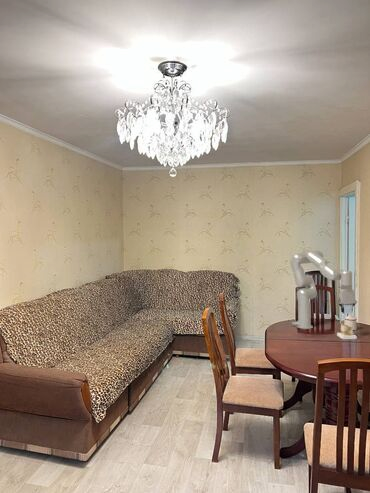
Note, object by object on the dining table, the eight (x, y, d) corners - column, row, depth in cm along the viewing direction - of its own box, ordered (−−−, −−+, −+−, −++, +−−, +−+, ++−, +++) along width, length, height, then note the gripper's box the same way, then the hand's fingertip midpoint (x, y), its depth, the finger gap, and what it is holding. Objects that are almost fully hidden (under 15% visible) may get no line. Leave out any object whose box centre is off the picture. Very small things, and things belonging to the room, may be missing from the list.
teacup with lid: (357, 329, 288) (357, 314, 288) (355, 331, 281) (355, 316, 280) (341, 327, 295) (341, 312, 295) (338, 329, 288) (338, 314, 287)
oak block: (344, 335, 262) (344, 327, 262) (340, 333, 268) (340, 325, 268) (352, 335, 262) (352, 327, 262) (349, 333, 268) (349, 325, 268)
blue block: (344, 313, 262) (344, 305, 262) (341, 312, 267) (341, 304, 267) (351, 313, 262) (351, 305, 262) (348, 312, 267) (348, 304, 267)
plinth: (342, 339, 260) (342, 336, 260) (337, 335, 270) (337, 332, 270) (356, 338, 260) (356, 336, 260) (350, 335, 270) (350, 332, 270)
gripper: (336, 288, 261) (337, 313, 261) (360, 288, 260) (361, 313, 261) (332, 287, 268) (333, 311, 268) (356, 286, 268) (356, 311, 268)
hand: (346, 312), depth 264 cm, fingers closed on blue block, 5 cm apart
